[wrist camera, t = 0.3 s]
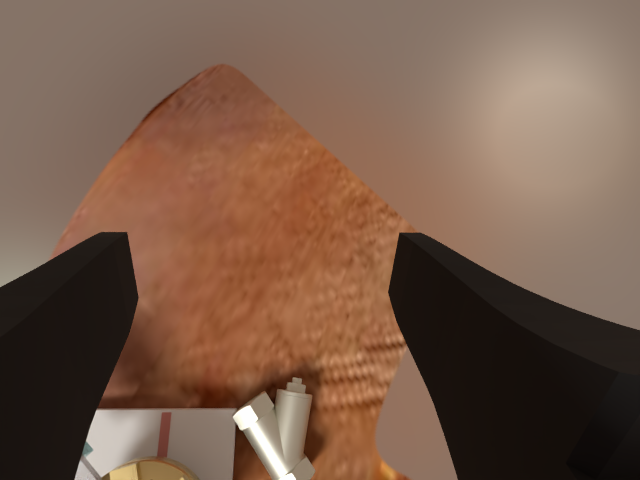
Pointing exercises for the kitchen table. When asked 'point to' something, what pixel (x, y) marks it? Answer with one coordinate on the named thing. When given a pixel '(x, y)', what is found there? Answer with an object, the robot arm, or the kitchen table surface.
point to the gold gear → (136, 469)
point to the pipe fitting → (279, 430)
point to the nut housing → (165, 438)
